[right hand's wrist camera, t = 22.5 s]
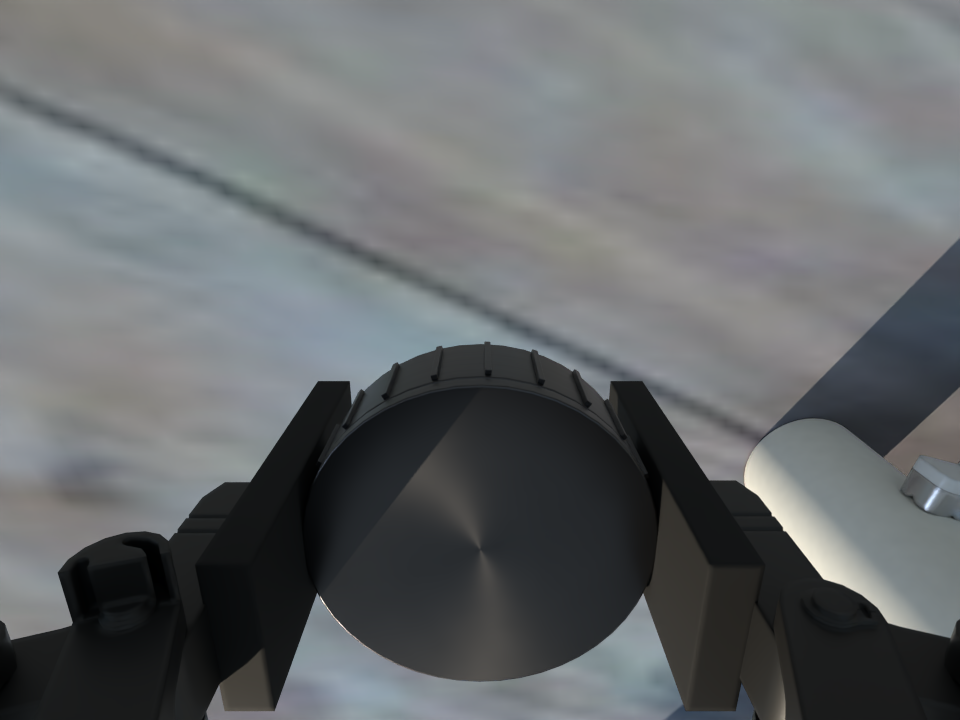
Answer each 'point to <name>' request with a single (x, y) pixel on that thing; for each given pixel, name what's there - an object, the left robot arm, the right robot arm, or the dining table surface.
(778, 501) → the white cylindrical tube
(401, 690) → the dining table surface
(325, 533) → the lid
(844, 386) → the dining table surface
